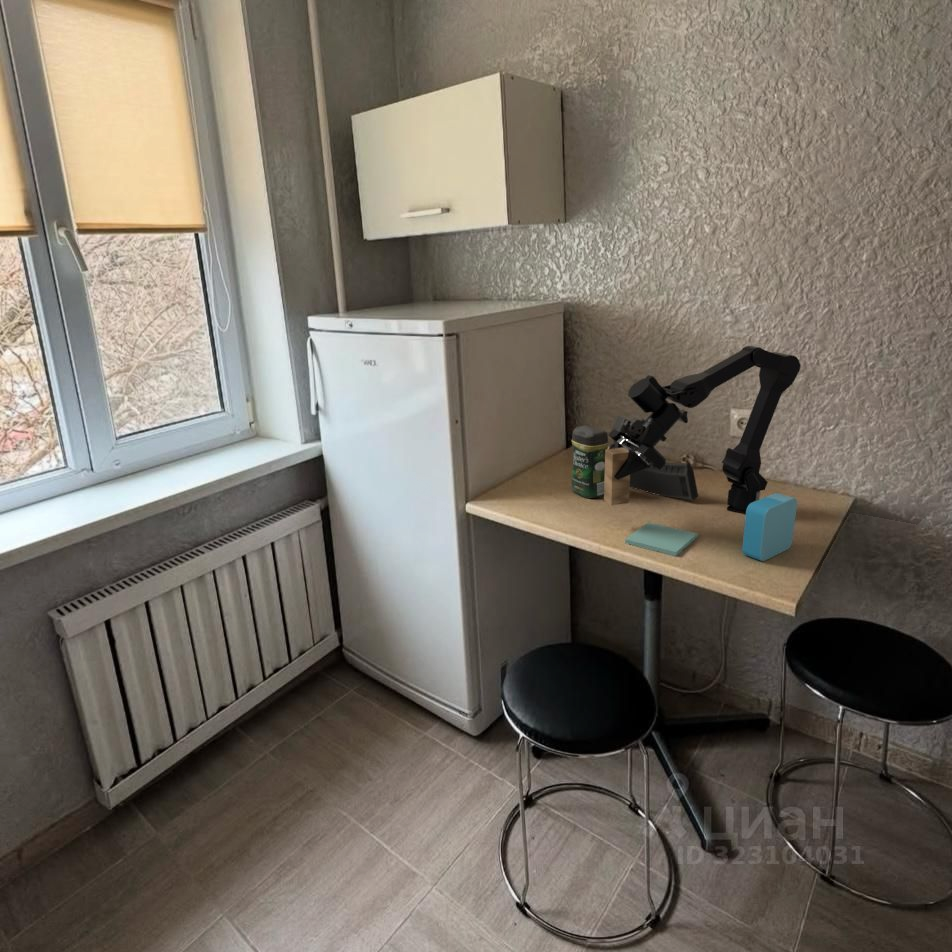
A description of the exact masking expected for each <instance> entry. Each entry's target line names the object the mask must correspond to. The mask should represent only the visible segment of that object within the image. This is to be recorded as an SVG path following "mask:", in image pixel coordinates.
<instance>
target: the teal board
mask: <svg viewBox="0 0 952 952" xmlns="http://www.w3.org/2000/svg"><path fill="white" fill-rule="evenodd" d="M697 538H698V533H697V532H693V531H688V530H684V529H680V528H676V527H672V526H667V525H664V524H663V525H662V524H659V523H654V522H649V521H648V522H646V523H645V524H643V525H642V526H641V527H639V528H638V529H637V530H635V531H634V532H632V534H630V535H628V537H626V538H625V539H624V541H625V542H624V544H626V543H628V544H627V545H630V544H631V546H634V545H635V547H638V546H639V548H641V549H642V548H643V549H645V548H647V549H646V550H649V549H650V550H651V551H653V550H654V552H657V551H659V552H658V553H661V552H662V554H665V555H669V556H672V555H673V556H672V557H677V556H678V555H679V554H681V552H683V551H682V550H683V549H684V548H685V549H686V548H688V546H689V545H690V544H691V543H692V541H693V542H694V541H695V540H696V539H697ZM685 549H684V550H685ZM650 550H649V551H650Z"/></svg>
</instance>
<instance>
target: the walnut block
mask: <svg viewBox="0 0 952 952" xmlns="http://www.w3.org/2000/svg"><path fill="white" fill-rule="evenodd" d="M628 453H629V451H628V450H626V449H625V448H615V449H608V448H607V449H606V450H605V481H604V495H603V500H604V501H605V502H606V503H607V504H608V505H610V506H616V505H623V504H624V505H625V504H629V503H630V489H631V487H630V475H628V476H626V477H623V478H621V479H619V480H617V479H616V478H615V475H616V473H617V472H618V471H619V469H620V468H621V467H622V465H623V464H624V463H625V461H626V460H627V458H628Z"/></svg>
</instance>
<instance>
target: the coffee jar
mask: <svg viewBox="0 0 952 952" xmlns="http://www.w3.org/2000/svg"><path fill="white" fill-rule="evenodd" d="M608 434H609V433H608V432H606V431H605V430H602V429H597V428H595V427H591V426H589V425H586V424H585V425H580V426H577V427H575V428H574V429H573V431H572V434H571V435H572V438H571V444H572V451H573V453H572V454H573V455H572V456H573V459H572V473H571V487H570V488H571V491H572V492H573V493H575V494H576V495H579V496H582V497H584V498H588V499H590V498H596V499H597V498H601V497H602V496H603V497H604V481H605V450H606V449H608V447H609V435H608ZM600 496H601V497H600Z"/></svg>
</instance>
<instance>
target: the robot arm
mask: <svg viewBox="0 0 952 952" xmlns="http://www.w3.org/2000/svg"><path fill="white" fill-rule="evenodd" d="M801 366H802V365H801V363H800V360H799V358H798V357H797V356H795V355H792V354H787V353H782V352H777V351H773V352H771V351H768V350H765V349H764V348H762V347H759V346H753V345H746V346H744V347H742V348H741V350H739V351H738V352H735V353H733V354H732V355H730V356H729V357H727V358H724V360H721V361H720V362H717V363H716V364H715V365H713V366H711V367H709V368H708V369H705V370H704V371H702V372H699V373H694V374H689V375H685V376H682V377H680V378H677V379H675V380H674V381H672V382H671V384H667V385H664V386H663V385H661V384H660V383H659V382H658V380H657V379H656V378H655V376H653V375H651V374H647V375H646V376H645V378H642V379H640V380H638V381H636V383H633V385H631V386H630V388H629V390H628V393H627V395H628V397H629V398H630V399H631V400H632V401H633V403H635V404H636V405H637V406H638V407H639V409H641V410H642V411H643V413H650V414H649V415H648V416H647V417H646V418H645V419H644V418H640V419H637V418H635V417H633V418H632V419H629V418H627V417H624V416H622V415H617V416H616V418H615V420H614V423H613V425H612V427H611V428H612V430H611V431H610V432H609V433H607V434H608V437H610V438H611V439H612V440H613V443H614V444H615V448H625V449H626V450H628V451H629V453H628V458H627V460H626V461H625V463H624V464H623V465H622V467H621V468H620V469H619V471H618V472H617V473H616V475H615V478H616V479H617V480H619V479H621V478H623V477H626V476H628V475H630V474H633V473H635V472H638V471H641V470H643V469H646V468H650V466H649V464H650V463H652V464H653V467H654V468H656V469H658V470H659V471H660V470H661V469H662V468H663V467H664V466H665V465H666V462H667V459H666V458H665V456H663V455H662V454H661V453H660V452H659V450H657V449H656V448H655V447H656V446H657V445H658V443H659V442H660V441H662V442H666V440H667V439H668V438H667V436H665V435H667V433H668V432H669V431H670V430H671V429H672V428H673V427H674V425H676V423H677V422H678V421H679V422H682V423H684V424H687V423H689V420H688V419H689V418H688V411H687V410H685V409H680V408H679V407H678V406H679V405H680V406H683V407H686V408H687V409H689V408H690V409H693V408H697V406H699V405H700V404H701V403H702V402H704V401H706V399H708V397H709V396H710V394H711V393H712V392H713V391H714V390H715V389H716V388H718V387H720V386H721V385H723V384H725V383H727V382H728V381H730V380H732V379H734V378H735V377H737V376H739V375H741V374H743V373H744V372H746V371H748V370H749V369H752V368H753V367H756V368H759V373H758V378H759V384H760V387H759V391H758V394H757V396H756V398H755V401H754V405H753V407H752V408H751V409H752V410H751V411H750V414H749V417H748V420H747V422H746V425H745V428H744V430H743V432H742V435H741V438H740V440H739V443H738V444H737V445H735V447H734V448H733V449H732V448H730V447H728V448H727V450H725V451H726V452H725V454H724V455H725V456H724V458H723V460H722V461H721V463H722V466H721V467H722V468H721V469H722V471H723V474H724V475H725V477H726V480H727V482H729V483H731V486H730V488H729V489H728V491H727V492H728V493H727V502H726V504H727V507H726V510H727V511H732V512H736V513H741V514H745V515H746V510H747V507H748V505H749V504H750V503H752V502H755V501H757V500H760V496H761V491H765V490H766V487H767V485H768V483H769V482H768V481H767V480H766V478H765V477H764V476H762V474H761V473H760V470H761V465H762V458H761V457H762V456H761V448H762V446H763V443H764V440H765V437H766V435H767V432H768V430H769V427H770V425H771V423H772V419H773V417H774V415H775V412H776V410H777V407H778V404H779V401H780V399H781V397H782V395H783V393H784V392H785V391H786V390H788V389H789V387H791V386H792V385H793V384H794V382H795V380H796V378H797V376H798V374H800V373H799V372H800V371H801ZM668 400H670V401H671V402H669V401H668ZM677 405H678V406H677Z"/></svg>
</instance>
